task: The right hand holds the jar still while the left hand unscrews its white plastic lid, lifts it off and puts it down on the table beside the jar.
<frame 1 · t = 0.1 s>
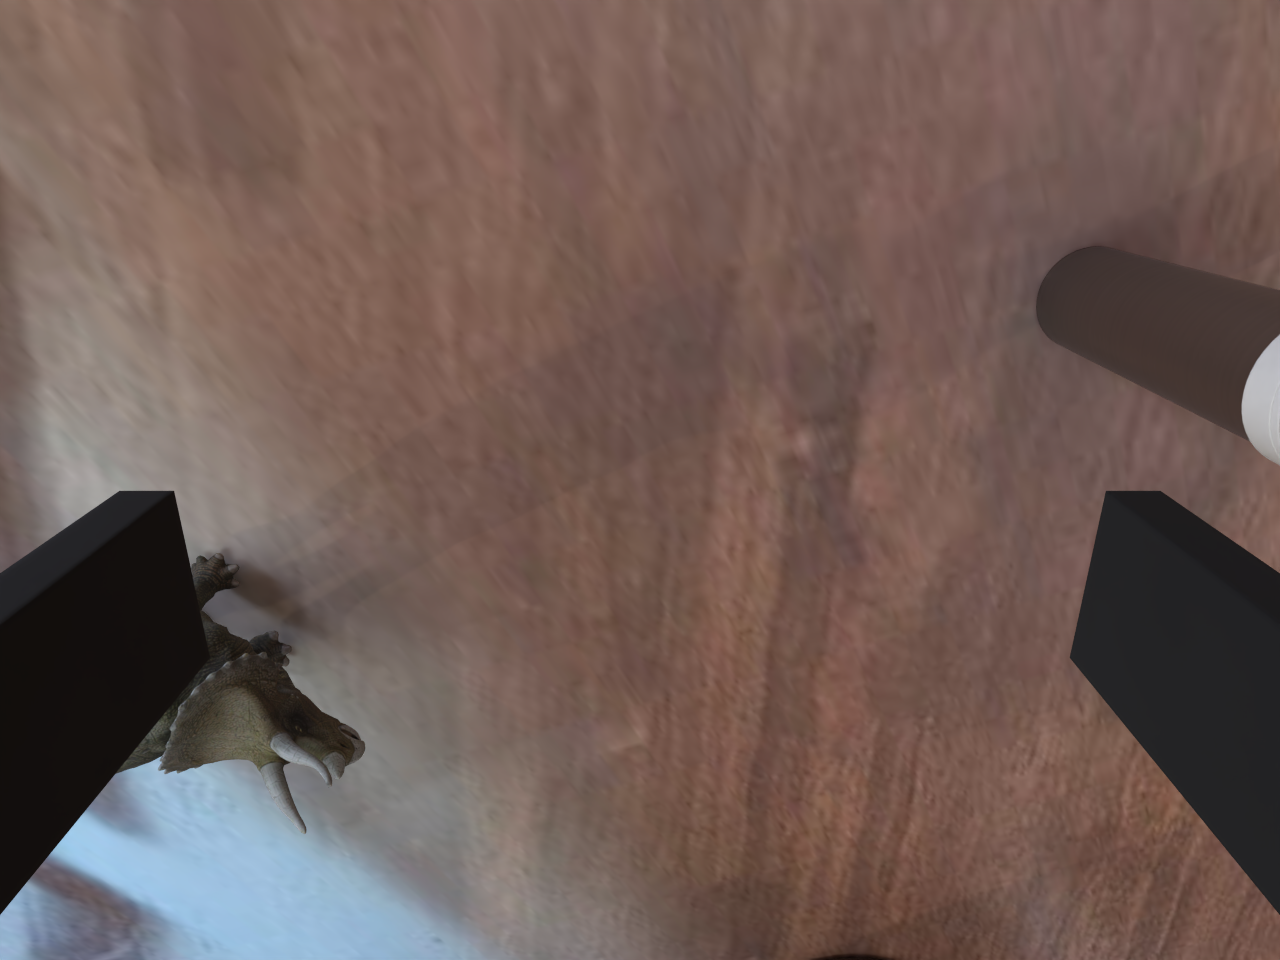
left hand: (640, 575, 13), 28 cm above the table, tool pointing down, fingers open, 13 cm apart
jar: (1086, 298, 39), on the table
toy dinosaur: (186, 629, 45), on the table
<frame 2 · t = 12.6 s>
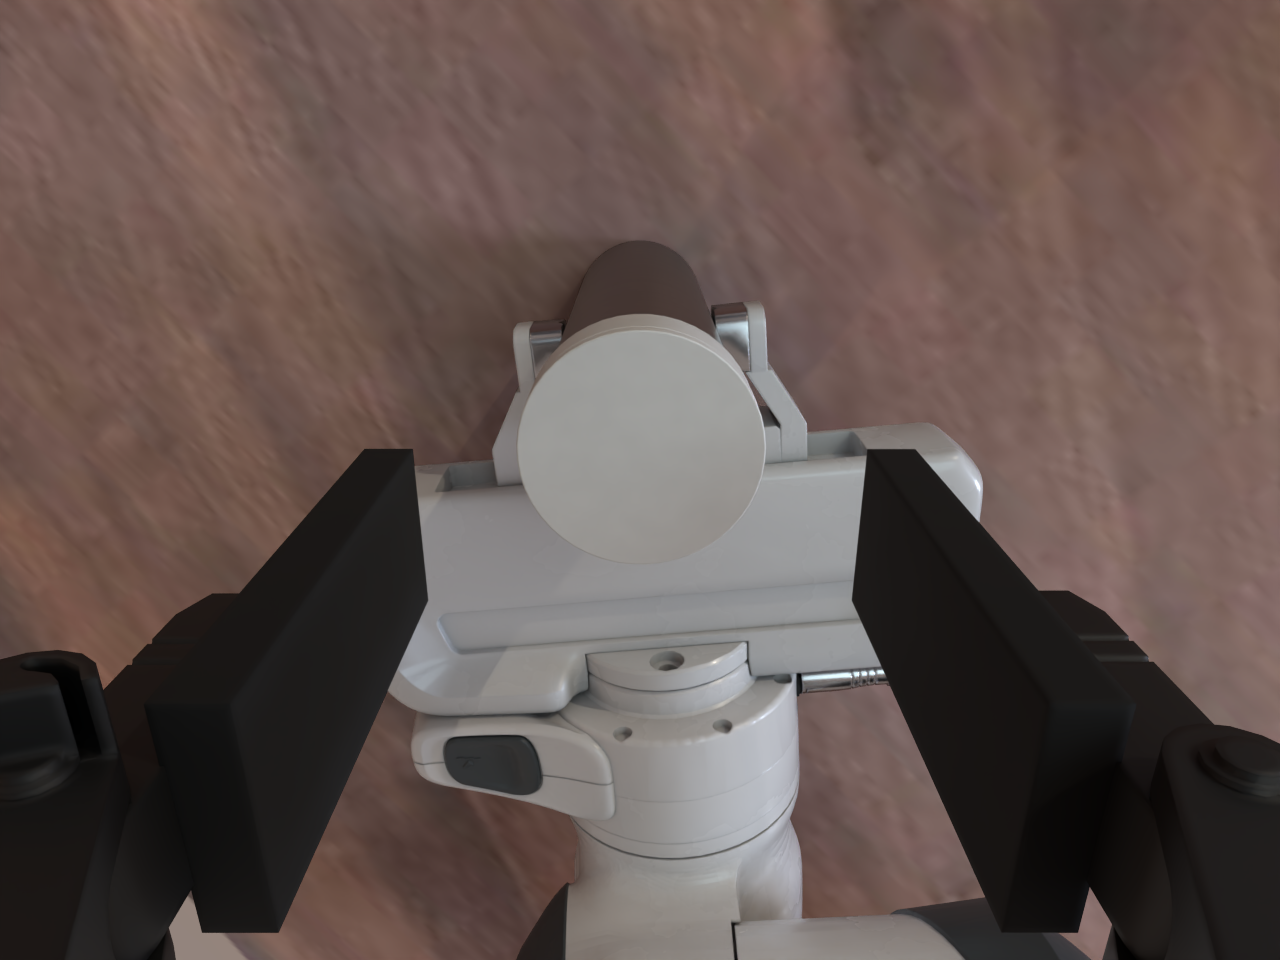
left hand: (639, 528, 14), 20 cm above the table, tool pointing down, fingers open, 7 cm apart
right hand: (636, 314, 26), fingers closed on jar, 4 cm apart
jar: (640, 303, 32), on the table, touching right hand
lid: (641, 448, 18), point 16 cm above the table, screwed on, not yet turned
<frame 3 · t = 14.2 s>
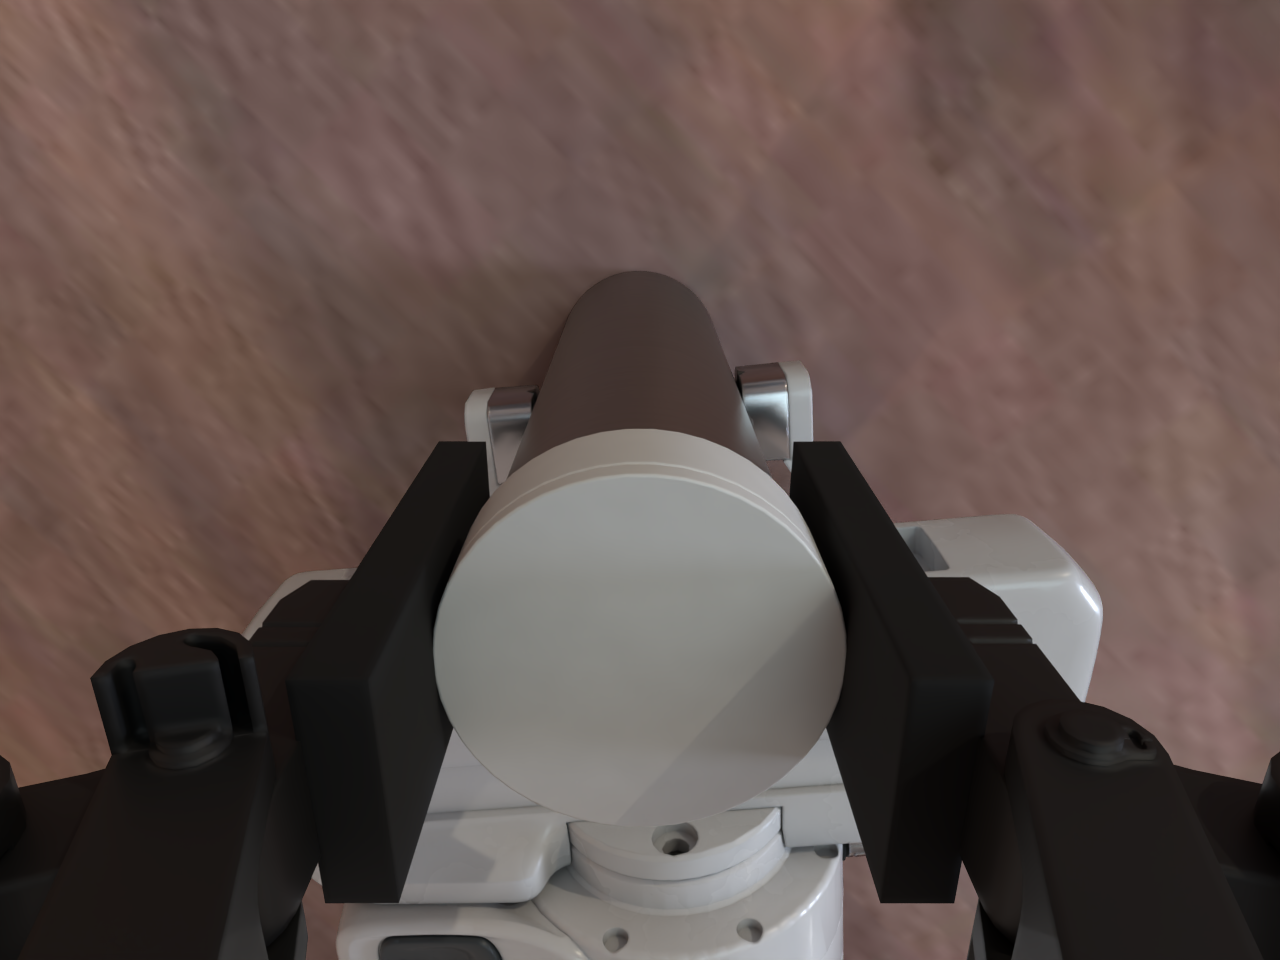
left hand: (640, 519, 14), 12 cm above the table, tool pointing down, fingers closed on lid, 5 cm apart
jar: (639, 349, 26), on the table, touching right hand
lid: (639, 650, 11), point 16 cm above the table, screwed on, not yet turned, touching left hand
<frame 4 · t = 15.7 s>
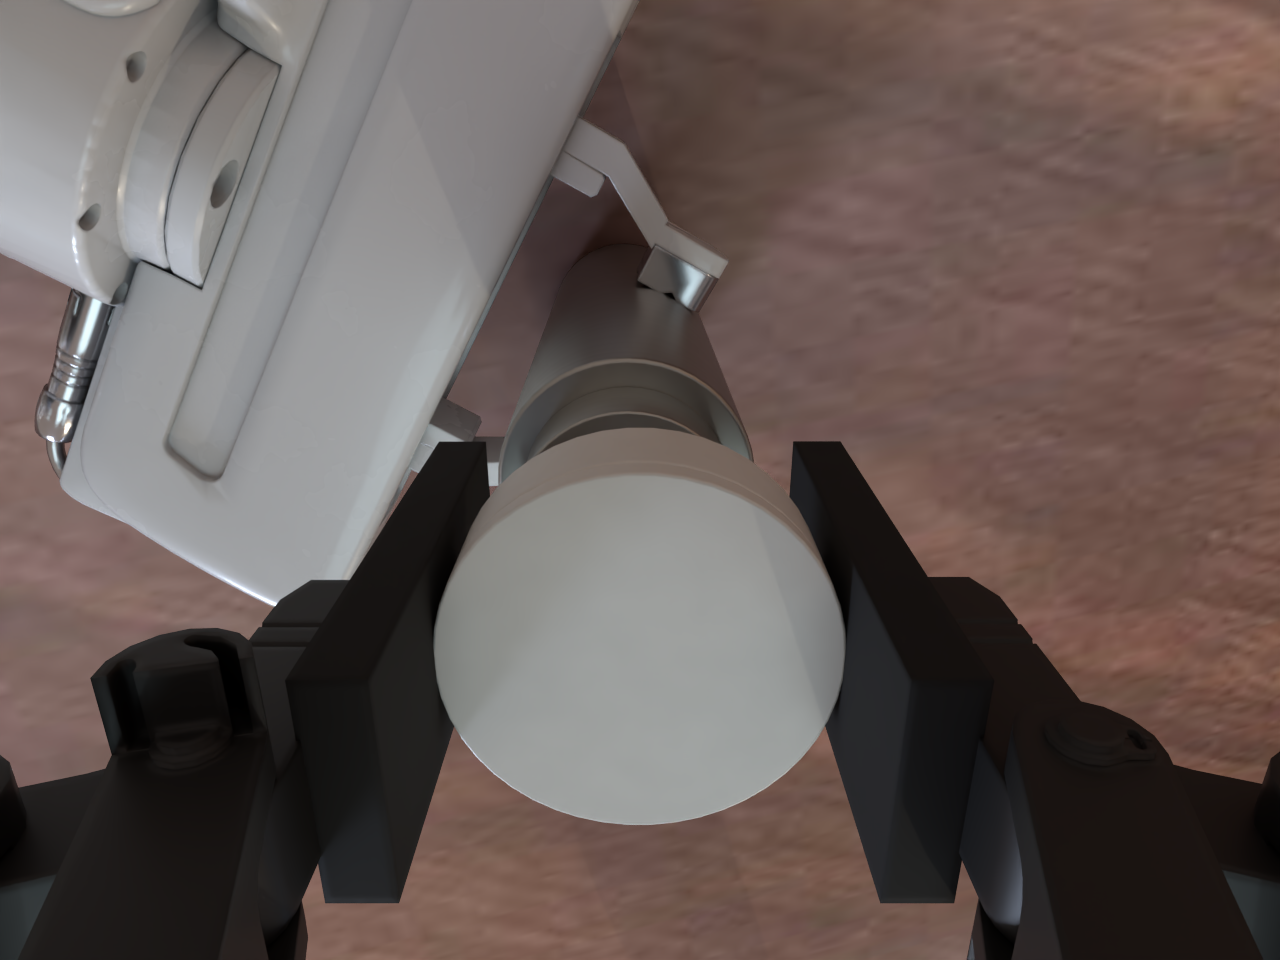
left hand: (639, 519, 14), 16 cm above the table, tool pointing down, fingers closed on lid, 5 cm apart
right hand: (655, 382, 23), fingers closed on jar, 4 cm apart
jar: (624, 314, 29), on the table, touching right hand
lid: (639, 649, 11), point 19 cm above the table, off its thread, touching left hand
when the left hand's fingers open (0 cm above the table, at t = 20.4 s): lid drops 3 cm, point 1 cm above the table.
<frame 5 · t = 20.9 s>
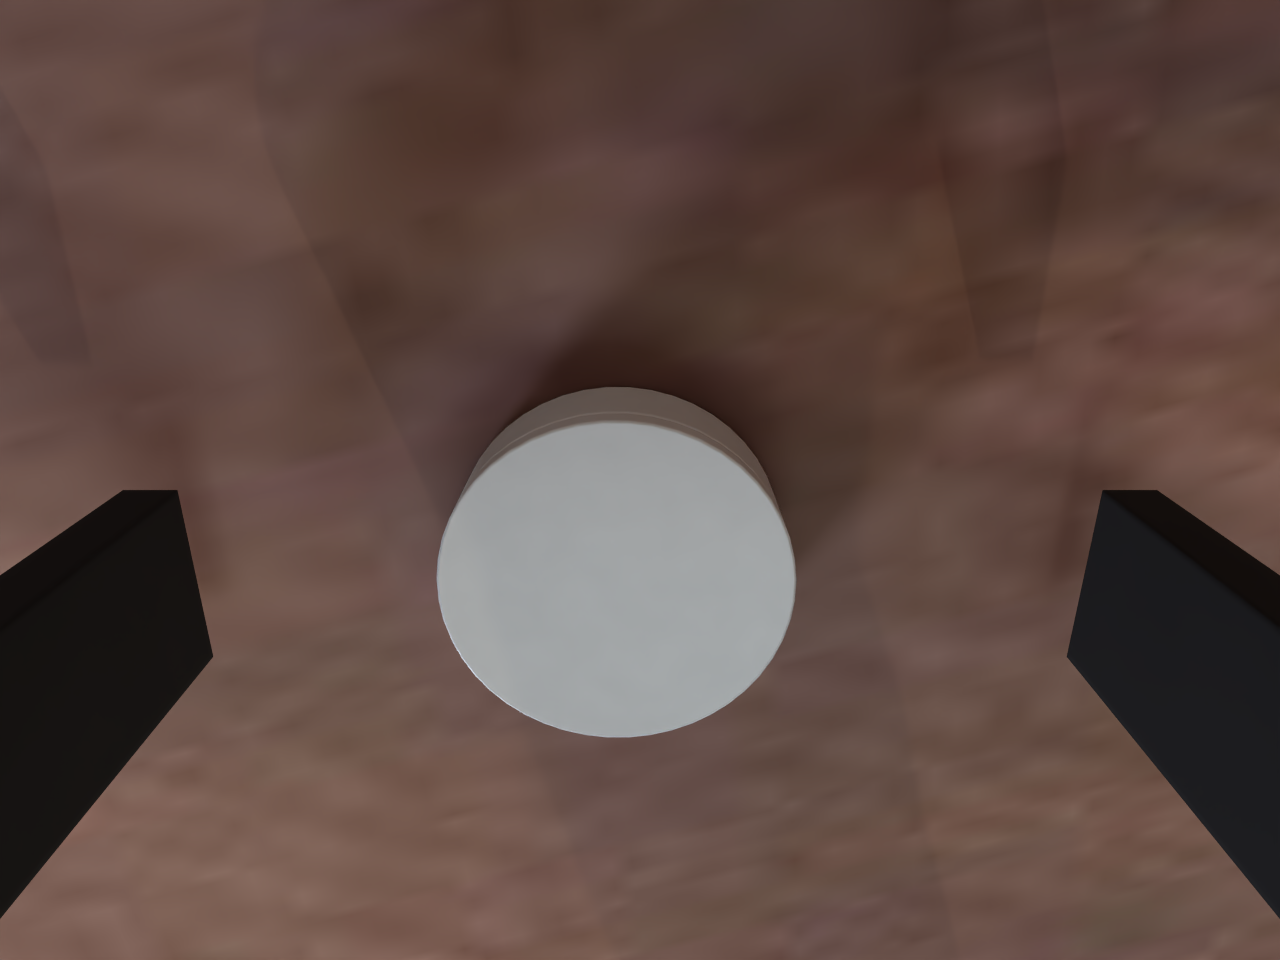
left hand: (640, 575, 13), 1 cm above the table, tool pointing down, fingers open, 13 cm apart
lid: (617, 579, 12), point 1 cm above the table, off its thread
when the right hand's fingers open (7 cm above the table, at t = 21.5 s): jar stays where it is, on the table.
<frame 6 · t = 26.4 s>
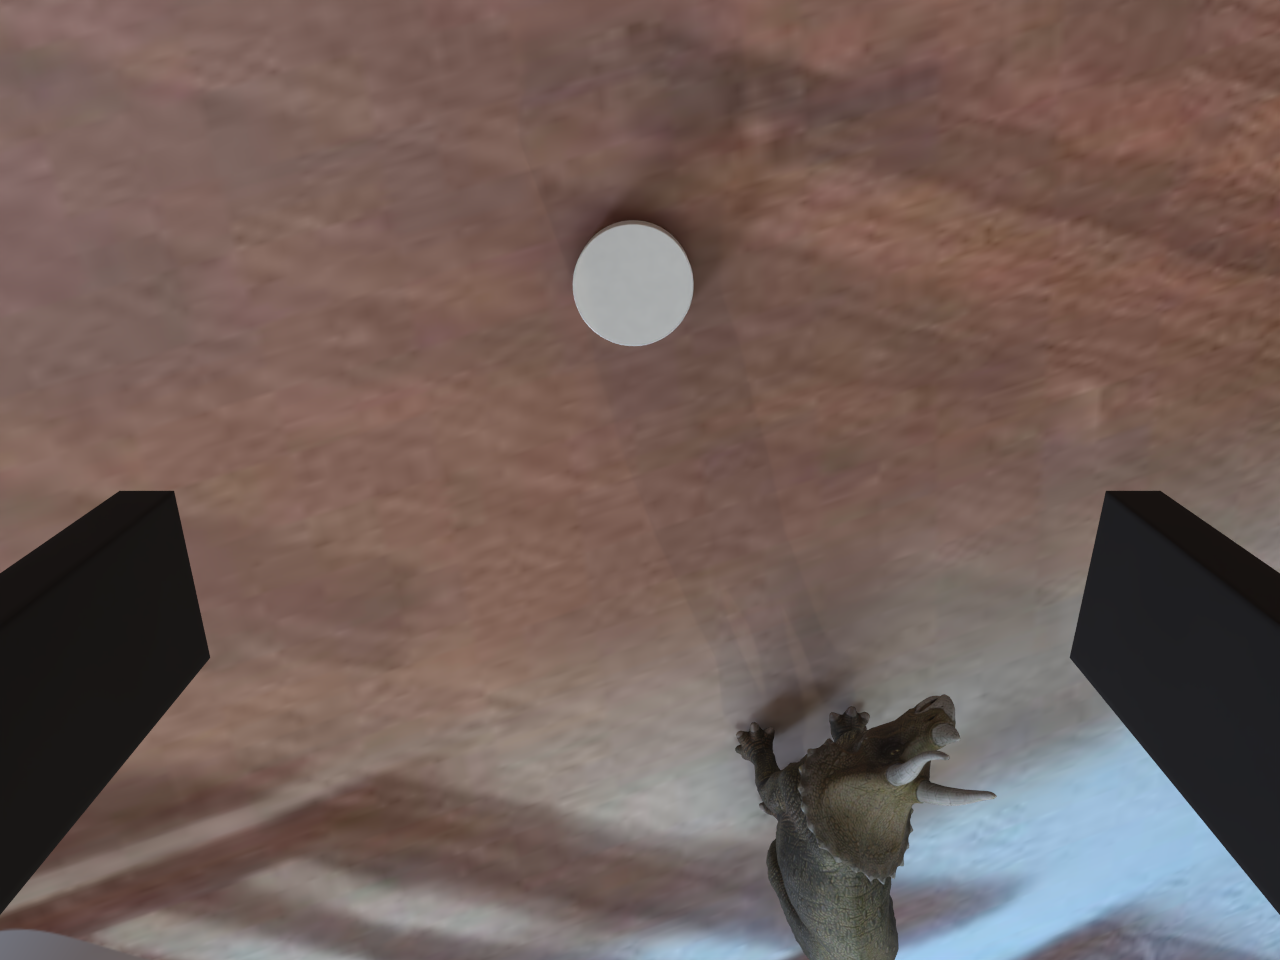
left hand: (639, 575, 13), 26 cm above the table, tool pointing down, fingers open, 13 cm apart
toy dinosaur: (808, 781, 47), on the table
lid: (633, 285, 36), point 1 cm above the table, off its thread
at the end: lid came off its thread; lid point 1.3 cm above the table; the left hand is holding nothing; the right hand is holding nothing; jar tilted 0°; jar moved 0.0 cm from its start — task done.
